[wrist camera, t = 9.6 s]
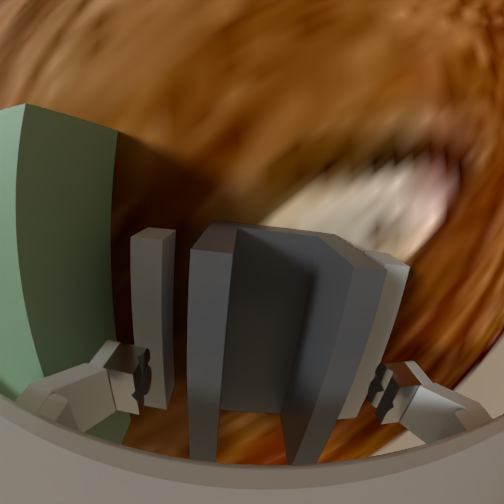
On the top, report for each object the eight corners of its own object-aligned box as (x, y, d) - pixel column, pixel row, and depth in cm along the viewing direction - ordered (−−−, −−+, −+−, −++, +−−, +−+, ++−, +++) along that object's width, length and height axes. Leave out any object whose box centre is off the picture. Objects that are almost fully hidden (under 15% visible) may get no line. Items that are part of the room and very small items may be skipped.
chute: (202, 392, 14) (190, 466, 9) (213, 219, 11) (190, 249, 7) (296, 398, 14) (311, 471, 9) (333, 233, 12) (387, 269, 7)
